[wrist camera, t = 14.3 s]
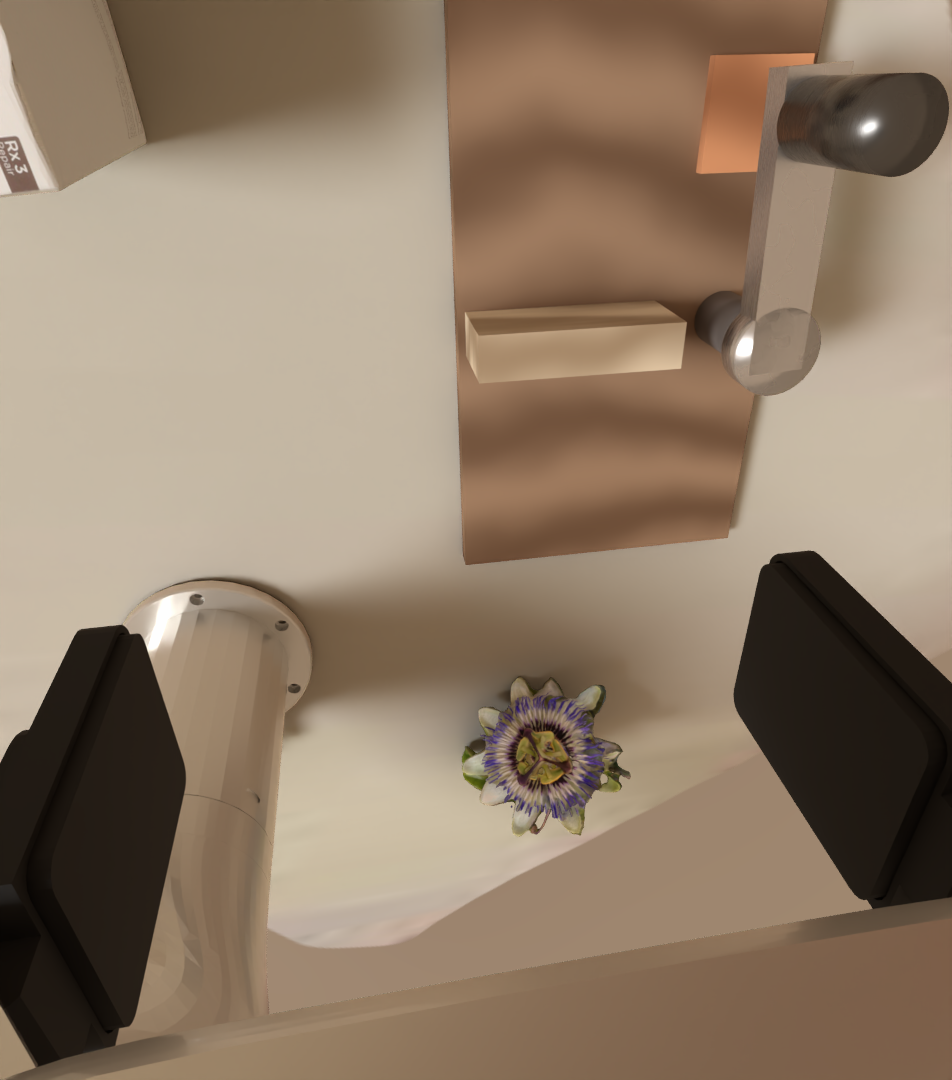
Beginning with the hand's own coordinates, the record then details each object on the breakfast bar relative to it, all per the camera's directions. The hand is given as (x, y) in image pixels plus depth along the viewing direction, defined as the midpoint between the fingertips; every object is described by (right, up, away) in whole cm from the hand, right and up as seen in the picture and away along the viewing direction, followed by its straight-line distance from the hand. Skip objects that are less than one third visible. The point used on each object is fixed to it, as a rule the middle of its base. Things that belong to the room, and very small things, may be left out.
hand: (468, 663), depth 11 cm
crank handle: (+14, +16, +24) cm, 32 cm away
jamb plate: (+8, +15, +31) cm, 35 cm away
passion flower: (+4, -12, +47) cm, 49 cm away
